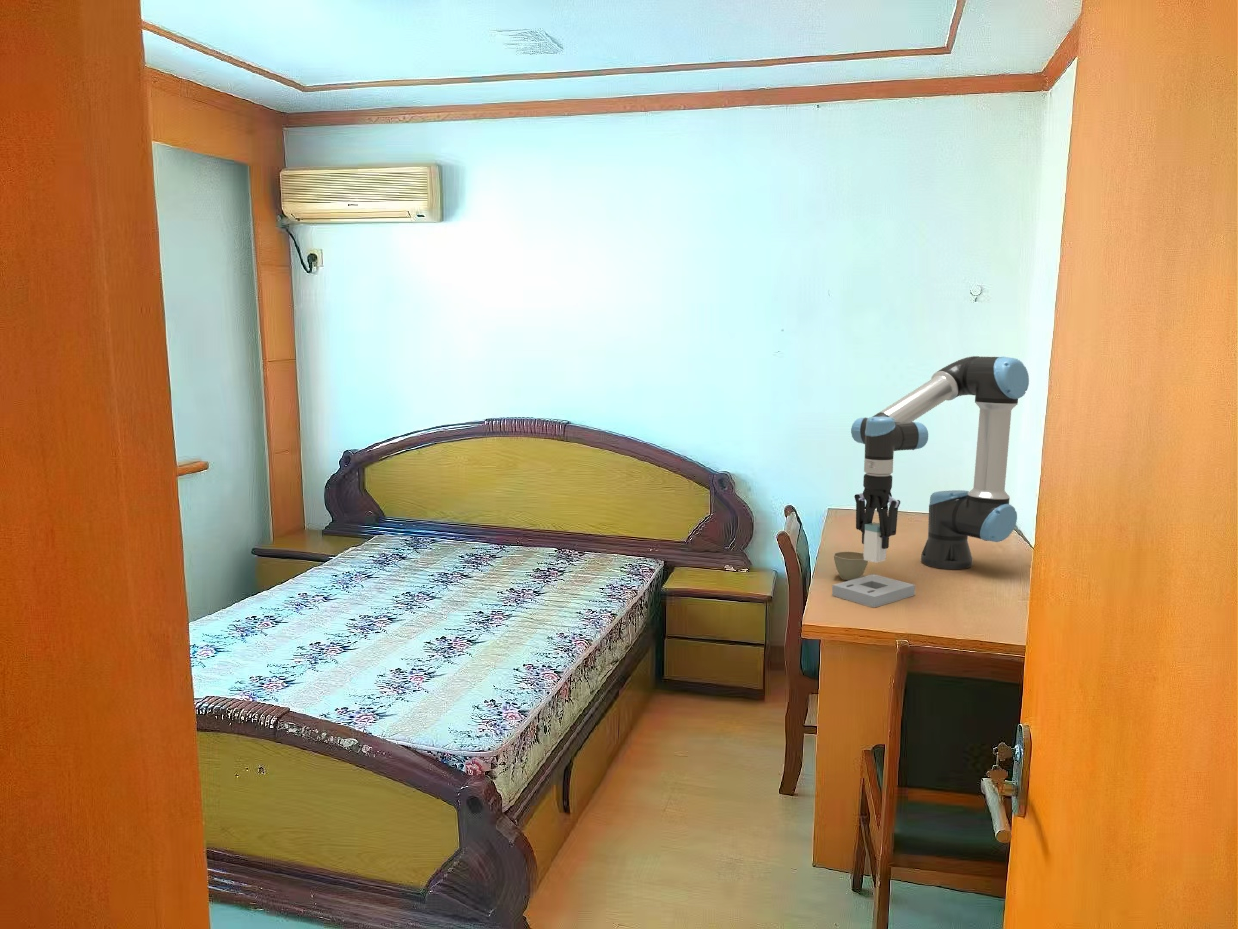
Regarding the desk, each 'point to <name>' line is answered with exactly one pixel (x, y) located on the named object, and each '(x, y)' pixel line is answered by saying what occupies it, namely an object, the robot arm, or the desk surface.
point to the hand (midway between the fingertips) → (874, 557)
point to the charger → (871, 542)
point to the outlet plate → (873, 590)
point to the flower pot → (850, 564)
